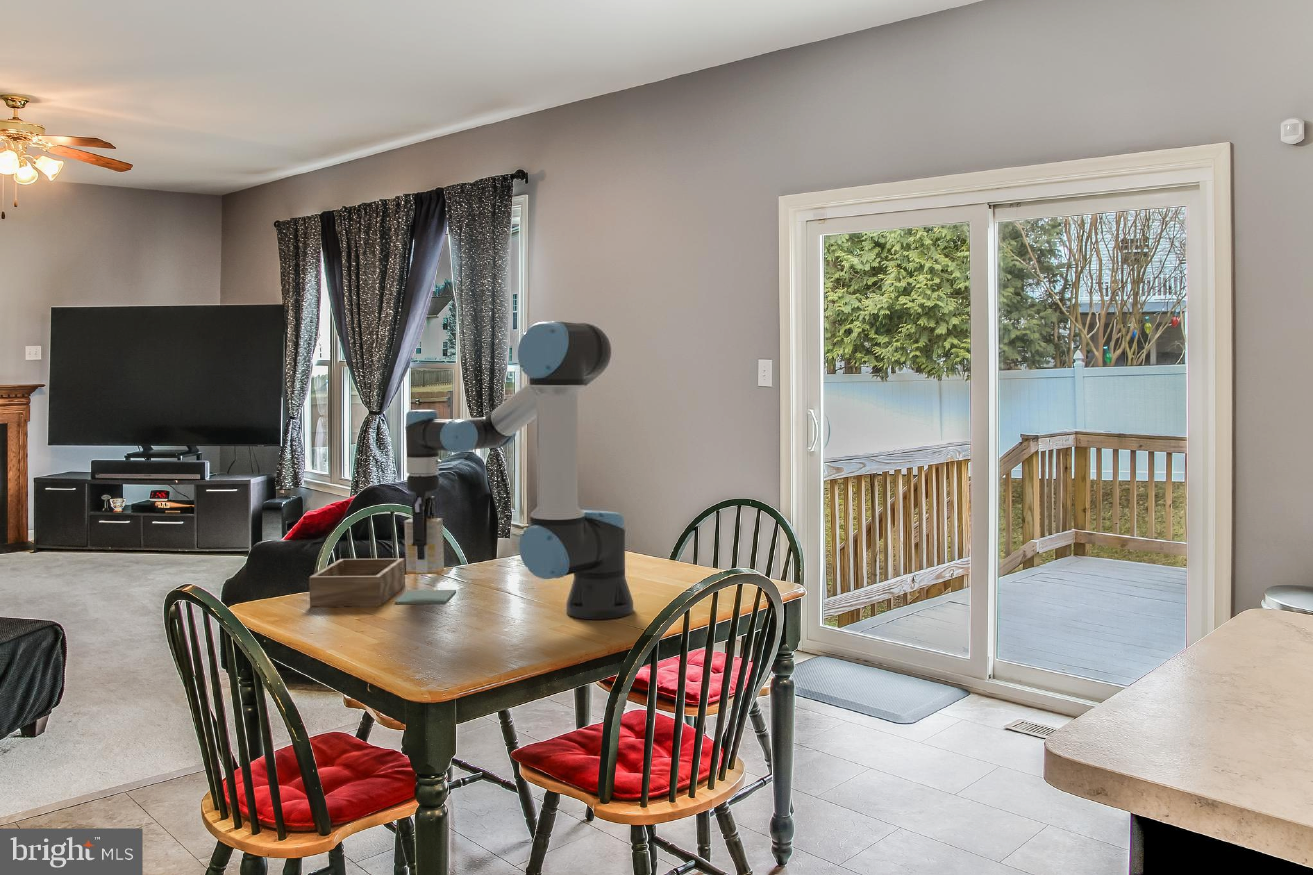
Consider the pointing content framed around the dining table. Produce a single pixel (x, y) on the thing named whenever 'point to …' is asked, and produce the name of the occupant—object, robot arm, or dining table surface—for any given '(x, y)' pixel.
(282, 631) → the dining table surface
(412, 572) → the supplement box
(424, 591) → the mat
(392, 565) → the crate
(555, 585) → the dining table surface
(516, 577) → the dining table surface
